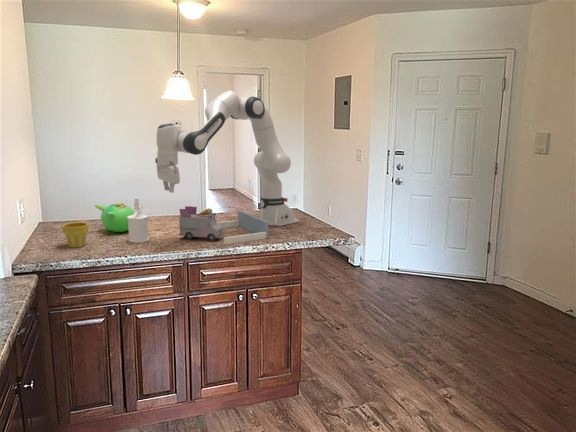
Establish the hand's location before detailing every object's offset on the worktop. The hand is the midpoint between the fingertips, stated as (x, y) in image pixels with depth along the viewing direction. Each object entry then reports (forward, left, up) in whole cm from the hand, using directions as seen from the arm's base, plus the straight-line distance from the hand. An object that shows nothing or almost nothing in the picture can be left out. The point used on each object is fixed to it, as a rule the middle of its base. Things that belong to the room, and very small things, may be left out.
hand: (169, 191), depth 215 cm
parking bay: (-31, 0, -24) cm, 39 cm away
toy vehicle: (-15, 0, -24) cm, 29 cm away
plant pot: (+38, -16, -24) cm, 48 cm away
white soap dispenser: (+12, -11, -24) cm, 29 cm away
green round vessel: (+16, -33, -24) cm, 44 cm away
